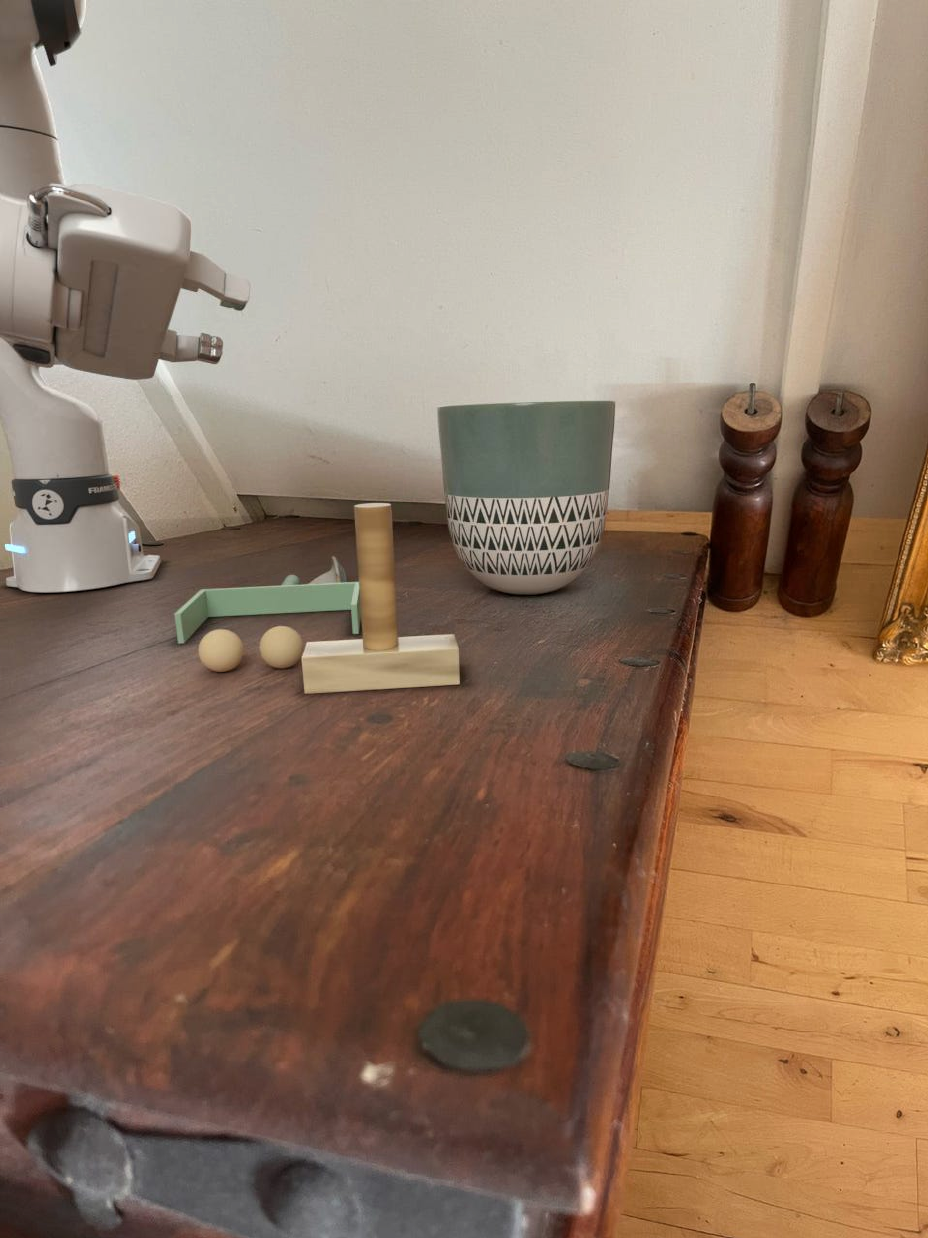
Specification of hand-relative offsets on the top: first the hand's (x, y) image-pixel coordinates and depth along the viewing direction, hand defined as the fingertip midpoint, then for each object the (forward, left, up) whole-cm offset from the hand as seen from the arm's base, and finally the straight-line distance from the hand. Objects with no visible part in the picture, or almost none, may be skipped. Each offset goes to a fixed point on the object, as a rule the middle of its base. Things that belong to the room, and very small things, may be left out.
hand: (233, 326), depth 58 cm
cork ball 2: (+2, +2, -26) cm, 26 cm away
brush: (+7, +10, -28) cm, 30 cm away
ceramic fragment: (-28, +4, -28) cm, 40 cm away
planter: (-22, +27, -28) cm, 45 cm away
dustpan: (-17, -1, -27) cm, 32 cm away
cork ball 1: (+2, -3, -26) cm, 26 cm away
